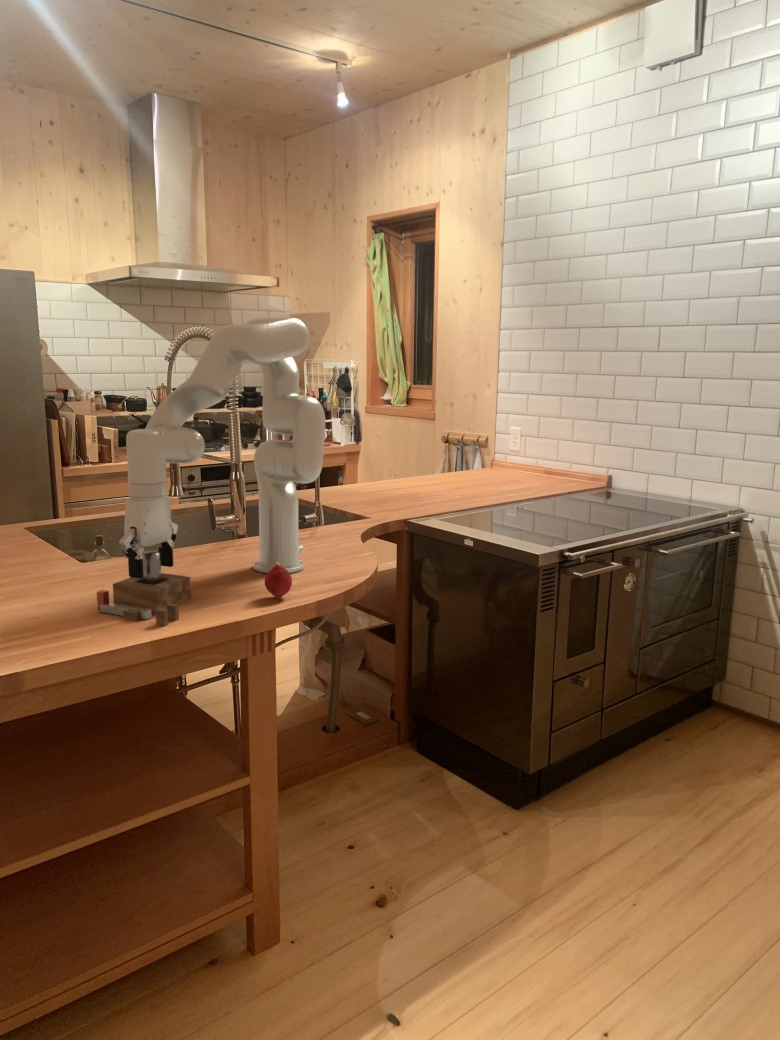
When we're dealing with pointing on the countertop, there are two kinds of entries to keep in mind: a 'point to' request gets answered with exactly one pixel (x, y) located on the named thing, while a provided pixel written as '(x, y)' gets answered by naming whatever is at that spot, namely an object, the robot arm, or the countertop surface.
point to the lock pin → (118, 606)
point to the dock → (153, 596)
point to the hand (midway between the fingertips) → (151, 571)
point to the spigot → (151, 567)
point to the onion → (278, 581)
